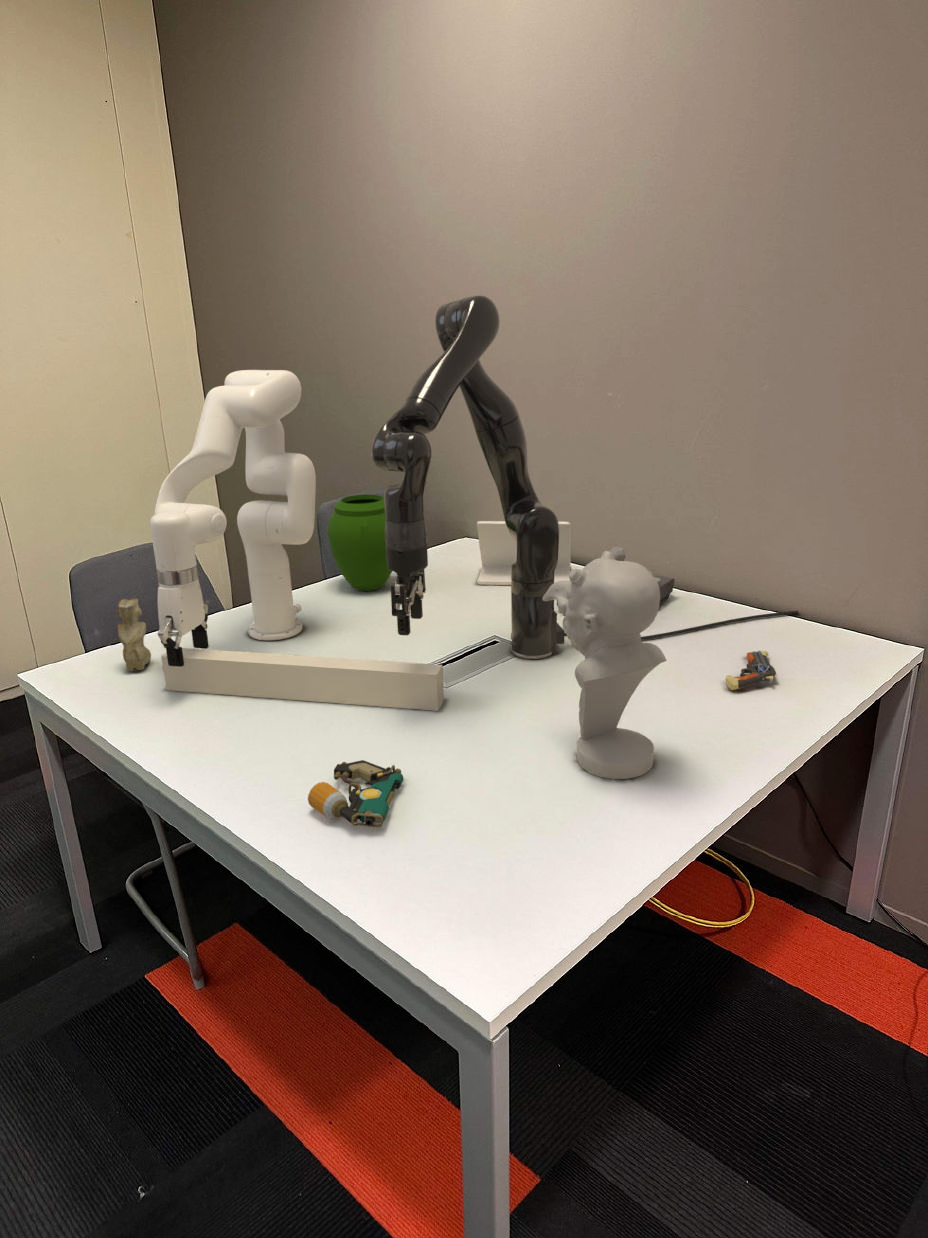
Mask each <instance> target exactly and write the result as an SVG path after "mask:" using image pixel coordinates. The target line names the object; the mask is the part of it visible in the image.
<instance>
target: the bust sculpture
mask: <svg viewBox="0 0 928 1238" xmlns="http://www.w3.org/2000/svg"><path fill="white" fill-rule="evenodd" d="M594 559H595V558H594ZM594 559H593V560H592V562H591V561H590V562H588V563H587V564H586V565H585V566H584V567H583V568H582V569H581V568H580V569H578V568H573V569H570V573H569V578H570V581H568V580H563V581H557V582H555V583H554V584H552V585H551V586H550V588H549V589H548V591H547V592H546V594H545V595H544V596H543V601H550V600H554V601H555V600H556V602H557V601H558V606H557V609H558V611H559V612H560V614H561V615H562V616H564V618H563V619H562V622H561V623H562V625H561V627H562V629H563V630H564V631H565V633H566V635H567V636H566V638H567V639H568V641H570V643H571V645H572V646H573V647H574V648H575V649H576V650H577V651H578V652H579V653H580V654H581V655H582V656H584V659H582V661H580V662H579V663H578V664H577V665H576V667H575V669H574V677H575V679H576V682H577V684H578V686H579V687H580V689H581V690H580V694H579V701H578V709H579V710H578V723H579V728H580V729H579V733H580V737H579V738H578V740H577V742H576V761H577V763H578V765H579V766H580V767H581V769H583V770H585V771H586V772H587V773H589V774H592V775H595V776H598V777H601V778H606V779H613V780H624V779H625V780H626V779H632V778H633V779H634V778H637V777H640V776H642V775H644V774H646V773H648V772H649V771H650V770H651V769H652V768H653V766H654V757H655V745H654V743H653V742H652V740H650V738H649V737H647V736H646V735H644V734H642V733H641V732H638V731H635V730H631V729H628V728H622V727H618V725H619V722H620V720H621V717H622V715H623V713H624V711H625V710H626V707H627V705H628V703H629V702H630V699H631V698H632V696H633V695H634V693H635V691H636V690H637V688H638V687H639V685H640V684H641V683H642V681H643V680H644V679H645V677H647V675H648V674H649V673H651V672H652V671H653V670H654V669H655V668H657V667H658V666H660V665H661V664H662V663H664V662H667V658H666V656H665V654H664V652H663V651H662V649H661V648H660V647H659V645H657V644H654V643H651V642H643V640H641V637H642V636H641V633H643V632H644V631H646V630H647V629H648V628H649V627H650V626H652V624H653V623H654V621H655V619H656V617H657V615H658V613H659V608H660V605H661V604H660V589H659V585H658V583H657V581H656V579H655V577H656V576H654V575H653V573H652V572H651V571H650V570H649V569H648V568H647V567H645V566H644V565H642V564H641V563H637V562H634V561H627V560H624V561H617V560H615V557H614V555H613V553H612V552H610V550H604V551H603V552H602V555H601V557H599V558H597V557H596V559H595V560H594ZM659 604H660V605H659Z"/></svg>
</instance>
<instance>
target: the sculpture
mask: <svg viewBox="0 0 928 1238" xmlns="http://www.w3.org/2000/svg"><path fill="white" fill-rule="evenodd" d="M117 606H118V608H119V609H117V610H116V615H118V616H119V617H121V619H122V622H120V623H118V625H117V635H118V641H119V643H121V644H122V646H123V649H122V659H123V661H124V663H125V667H126V670H127V671H128V672H129V671H134V670H135V668H136V669H137V671H140V670H141V671H142V670H144V669H145V665H147V664H149V663H150V661H151V659H152V658H151V657H152V654H151V650H149V649H148V648H147V647H146V646H145V644H144V643H145V642H144V641H145V639H144V638H145V635H146V633H147V625H146V623H145V622H144V621H141V620H139V618H140V617H141V616H142V614H143V613H142V609H141V607H140V605H139V598H138V597H137V598H136V597H135V598H132V599H127V598H123V599H120V600H119V602H118V605H117Z"/></svg>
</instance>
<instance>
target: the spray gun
mask: <svg viewBox="0 0 928 1238" xmlns="http://www.w3.org/2000/svg"><path fill="white" fill-rule="evenodd" d="M333 779H334V780H335V781H338V780H339V779H341V781H342V782H343V783H344V784H347V785H348V787H347V792H348V801H349V802H348V801H347V797H346V796H345V794H344V793H343V792H342V791H340V790H338V789H337V788H335V787H334V786H333V785H331V784H330V783H328V782H325V781H320V782H317V783H316V784H314V785H313V787H312V788H310V790H309V793H308V795H307V802H308V805H309V806H310V807H311V808H312V809H314V810H315V811H317V812H318V813H320V814H322V815H323V816H324V817H326V818H330V819H341V818H343V819H344V820H345V821H347V822H348V823H349V824H351V825H352V826H353V827H359V826H360V827H361V826H362V827H369V828H370V827H371V828H378V829H379V828H380V829H381V828H382V827H383V826H384V823H385V820H386V818H387V815H388V814H389V811H390V809H391V808H390V804H391V803H392V801H393V798H394V796H395V791H396V790H399V789H400V788H401V786H402V784H403V782H404V775H403V774H402V770H401V769H400V768H398V767H397V768H396V766H395V765H394V764H392V765H391V767H390V766H388V767H386V768H384V767H383V766H380V765H377V764H374V763H372V762H369V761H367V760H364V759H361V760H356V761H352V762H346V761H342V762H341V763H337V764H336V766H335V767H334V769H333ZM357 779H360V780H362V781H365V783H364V785H366V786H370V787H366V788H362V785H360V784H359V783H357V782H355V781H353V780H357ZM352 787H353V788H352ZM349 803H350V805H349ZM358 821H360V822H358Z"/></svg>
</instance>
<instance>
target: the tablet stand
mask: <svg viewBox="0 0 928 1238" xmlns="http://www.w3.org/2000/svg"><path fill="white" fill-rule="evenodd" d="M558 523H559V549H558V562H557V566H556V568H555V572H554V583H555V582H557V581H563V580H568V581H570V578H569V573H570V571H571V565H572V564H571V560H572V558H571V522H569V521H558ZM476 531H477V537H478V544H479V551H480V557H481V558H480V559H481V570H480V573H479V575H478V577H477V580H476V581H477V582H476V584H478V585H484V586H485V585H486V586H487V585H489V586H490V585H491V586H511V566H512V564H513V563H514V562H516V558H517V540H515V539H514V538H513V537H512V536H511V535H510V533H509V531H508V529H507V526H506V523H505V520H477V522H476Z"/></svg>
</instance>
